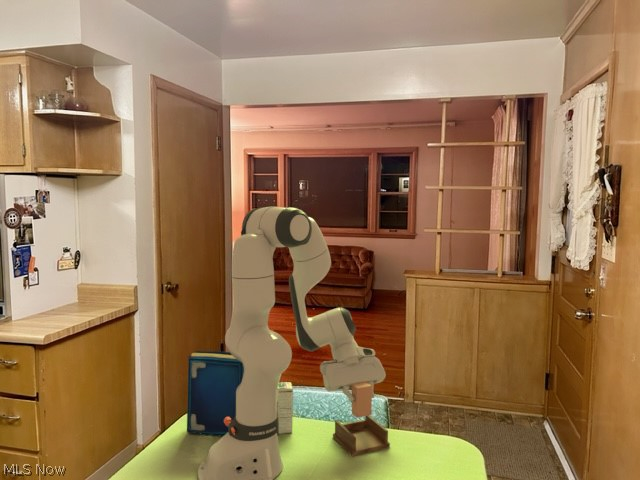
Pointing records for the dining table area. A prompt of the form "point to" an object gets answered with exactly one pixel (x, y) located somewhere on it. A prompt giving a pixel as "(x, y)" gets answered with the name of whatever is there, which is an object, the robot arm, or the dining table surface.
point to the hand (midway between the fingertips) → (362, 399)
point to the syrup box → (285, 406)
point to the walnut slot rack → (361, 436)
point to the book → (212, 391)
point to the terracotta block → (362, 399)
